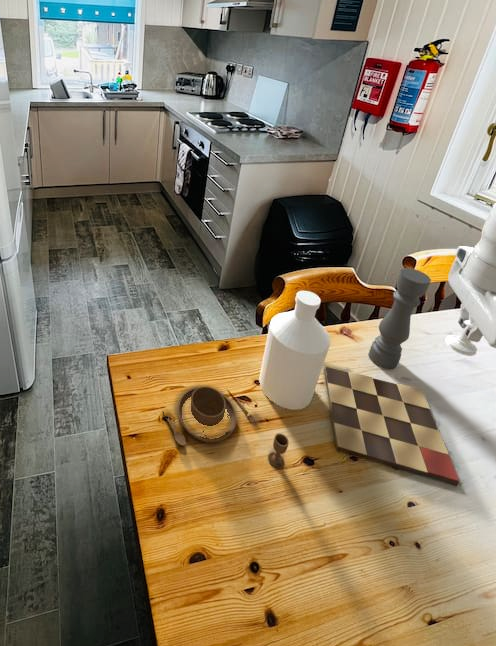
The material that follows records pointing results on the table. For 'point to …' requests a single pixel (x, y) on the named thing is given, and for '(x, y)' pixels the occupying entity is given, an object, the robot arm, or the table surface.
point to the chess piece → (462, 341)
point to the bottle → (294, 354)
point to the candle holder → (398, 318)
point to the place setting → (219, 419)
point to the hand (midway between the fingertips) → (467, 332)
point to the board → (387, 425)
